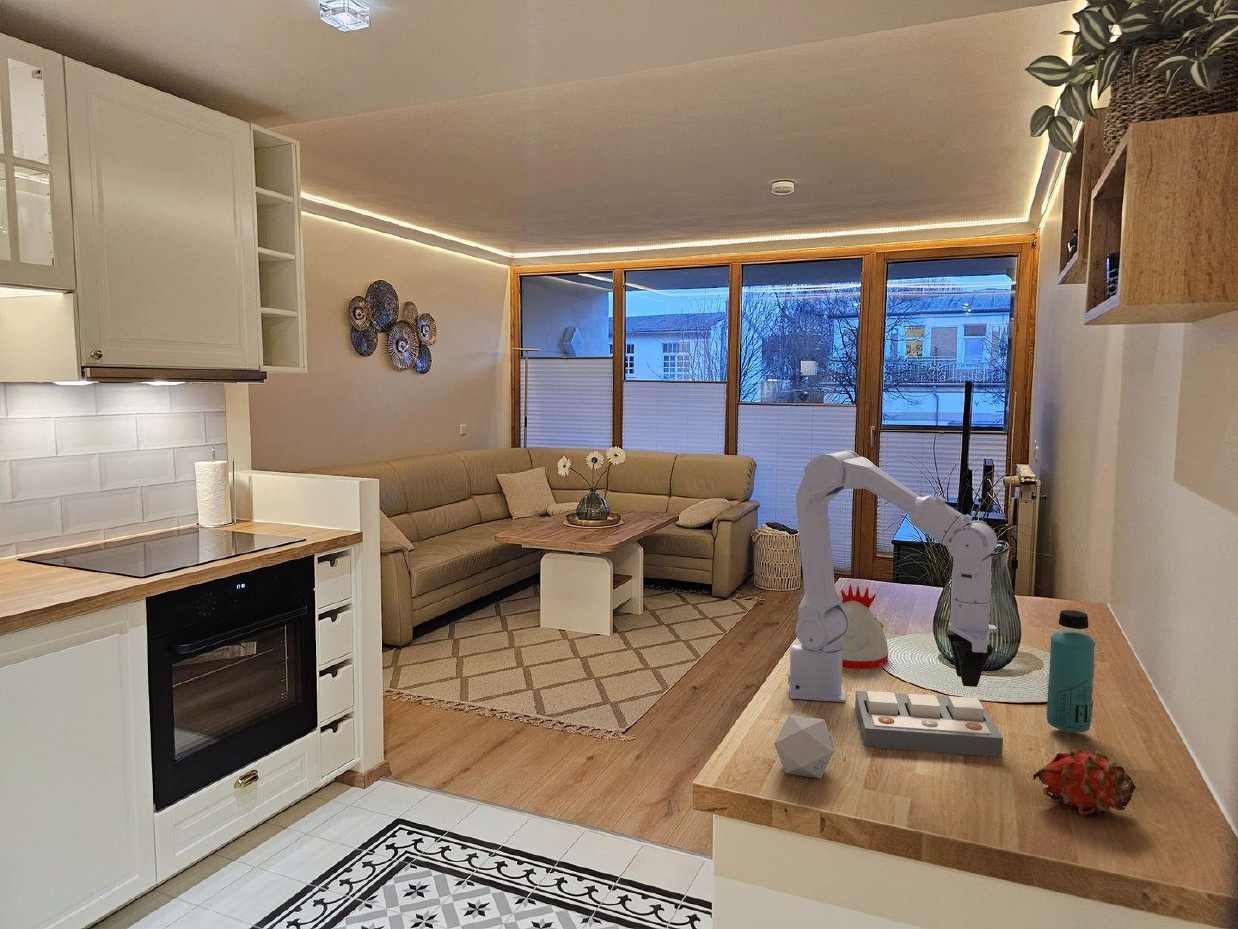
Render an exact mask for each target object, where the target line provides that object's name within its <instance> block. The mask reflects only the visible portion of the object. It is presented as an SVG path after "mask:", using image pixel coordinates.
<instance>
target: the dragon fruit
mask: <svg viewBox="0 0 1238 929" xmlns="http://www.w3.org/2000/svg"><path fill="white" fill-rule="evenodd" d="M1093 753H1094V754H1095V755H1094V754H1093ZM1093 753H1092V752H1090V751H1087V752H1085V751H1083V750H1082V749H1079V748H1078V749H1070V751H1069V753H1068V752H1066V753H1065V752H1058V753H1056V755H1055V757H1054V758H1053V759H1052V760H1051V761H1050V762H1048V763H1047V764H1046V765H1045V766H1044V767H1042V768H1040V770H1038V771H1037V772H1035V774H1032V778H1033V781H1035V780H1036V781H1037V778H1038V780H1039V781H1040V782H1041V784H1043V785H1046V786H1047V787H1044V788H1042V792H1043V794H1044V795H1045V796H1046V797H1048V798H1050V799H1051V800H1052V801H1054V802H1059V803H1060V802H1061V803H1062V804H1063V805H1066V806H1072V807H1073V806H1074V807H1075V806H1076V807H1078V813H1079V814H1080V816H1083V817H1084V816H1085V815H1090V814H1094V812H1096V813H1097V814H1098V815H1106V814H1107V812H1108V811H1109V810H1110V808H1112V809H1115V810H1116V811H1125V809H1126V807H1127V805H1128V804H1129V803H1130V802H1131V800H1132V797H1133V793H1134V791H1136V789H1137V787H1136V785H1135V784H1134V779H1133V778H1132V777H1131V776H1130V775H1129V774H1128V773H1126V771H1125V769H1124V766H1121V765H1120V764H1117V763H1116V762H1115V761H1109V758H1108V757H1107V756H1106V755H1104V754H1103V753H1101V752H1100V751H1095V750H1094V751H1093Z"/></svg>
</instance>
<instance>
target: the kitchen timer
mask: <svg viewBox="0 0 1238 929" xmlns="http://www.w3.org/2000/svg"><path fill="white" fill-rule="evenodd" d="M859 586H860V585H857V587H856V591H855V594H854V593H853V588H852V587H853V586H852V584H849V586H848V592H847V594H846V592H845V591H844V589H841V590H840V594H841V598H842V604H843V608H844V610H845V612H846V614H847V616H848V618H849V628H848V630H847V632H846V633H845V634H844V635H843V636H842V643H843V654H842V668H845V669H853V670H855V669H856V670H871V669H876V668H881V667H883V666H886V664H887V663H888V660H889V648H888V647H889V646H888V641H887V637H886V634H885V631H884V627H885V625H884V624H883V623H882V622H881V621H880V619H879V618H878V616H877V614H875V612H874V611H873V610H872V609H871V608H870V607H871V605H872V604H873V602H874V600H875V598H876V594H877V593H876V592H875V593H874V594H873V595H872V596H871V597H870V596H869V594H870V593H869V590H870V589H869V587H868V586H867V587H866V589H865V592H864V595H861V590H860V587H859Z"/></svg>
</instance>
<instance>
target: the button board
mask: <svg viewBox="0 0 1238 929" xmlns="http://www.w3.org/2000/svg"><path fill="white" fill-rule="evenodd" d="M893 693H894V694H895V697H896V699H897V702H898V715H890V714H875V713H869V711H868V707H867V703H866V694H867V690H866V691H863V690H855V704H854V707H855V712H856V716H857V720H858V725H859V730H860V733H861V738H862V741H863V744H864V745H863V746H864V747H865V748H878V749H889V750H890V749H891V750H892V749H893V750H903V751H917V752H932V753H945V754H954V755H956V754H958V755H968V754H969V755H972V756H981V755H983V756H985V755H987V756H985V757H994V756H1002V757H1003V745H1004V737H1003V736H1002V734H1001V732H1000V731H999V729H998V727H997V726H996V725H995V722H994V720H992V718H991V716H990V715H989V713H988V712H987V710H986V707H984V705H983V704H982V702H981V700H980V699H979V698H977V699H978V700H979V702H980V703H981V705H982V707H983V708H984V717H983V721H977V720H963V719H954V718H953V716H952V714H951V712H950V710H949V708H948V700H949V696H942V695H941V696H940V695H935V696H936V698H937V700H938V702H939V704H940V706H941V707H940V718H934V717H919V716H911V714H910V712H909V709H908V707H907V694H908V693H897V692H893Z"/></svg>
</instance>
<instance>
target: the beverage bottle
mask: <svg viewBox="0 0 1238 929" xmlns="http://www.w3.org/2000/svg"><path fill="white" fill-rule="evenodd" d="M1058 625H1059V626H1062V627H1064V629H1059V630H1058V631H1056V632H1054V633H1053V634H1052V635H1050V637H1049V638H1050V646H1049V647H1050V648H1049V649H1050V652H1049V653H1050V654H1049V671H1048V672H1049V673H1048V679H1047V687H1046V689H1047V692H1046V695H1047V700H1046V702H1045V703H1046V704H1045V705H1046V707H1045V708H1046V709H1045V712H1046V716H1045V717H1046V721H1047V723H1048V725H1050V726H1051V727H1053V728H1055V729H1057V730H1060V731H1064V732H1069V733H1076V734H1077V733H1087V732H1088V731H1089V730H1090V728H1091V726H1092V724H1093V722H1092V721H1093V718H1092V715H1093V707H1094V703H1093V702H1094V700H1093V696H1094V695H1093V692H1094V690H1093V687H1094V684H1093V683H1094V677H1095V668H1096V667H1095V666H1096V665H1095V648H1096V647H1095V646H1096V641H1095V640H1094V639H1093V638H1092V637H1091V636H1090V634H1088V633H1087V632H1084V631H1081V630H1086V629H1088V628H1089V616H1088V613H1086V612H1083V611H1080V610H1076V609H1064V610H1061V611H1060V612H1059V618H1058ZM1065 628H1067V629H1065Z"/></svg>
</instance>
